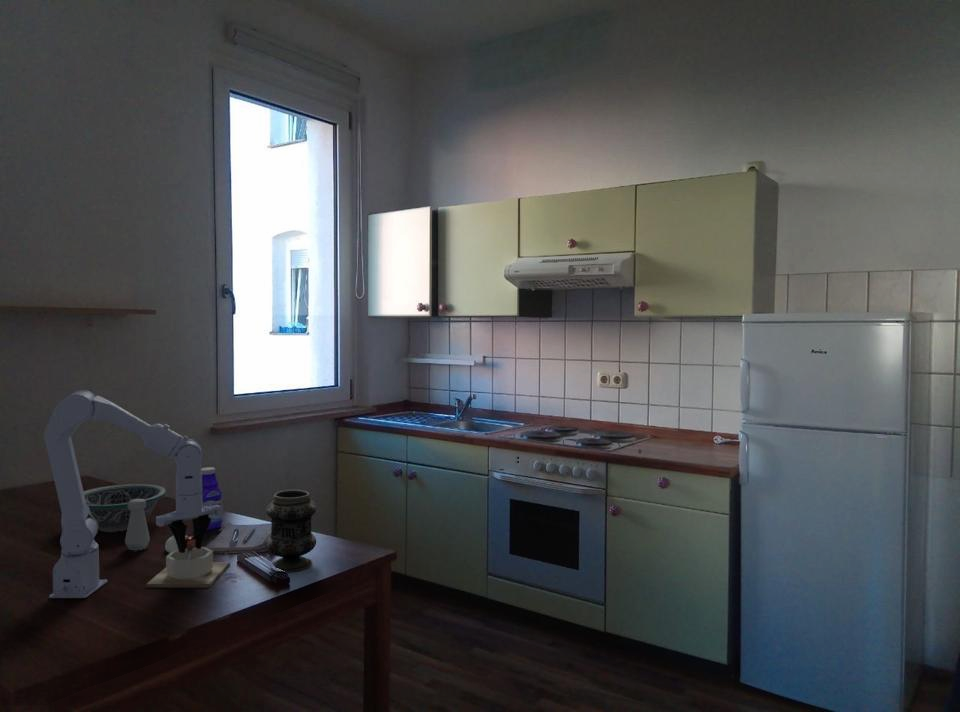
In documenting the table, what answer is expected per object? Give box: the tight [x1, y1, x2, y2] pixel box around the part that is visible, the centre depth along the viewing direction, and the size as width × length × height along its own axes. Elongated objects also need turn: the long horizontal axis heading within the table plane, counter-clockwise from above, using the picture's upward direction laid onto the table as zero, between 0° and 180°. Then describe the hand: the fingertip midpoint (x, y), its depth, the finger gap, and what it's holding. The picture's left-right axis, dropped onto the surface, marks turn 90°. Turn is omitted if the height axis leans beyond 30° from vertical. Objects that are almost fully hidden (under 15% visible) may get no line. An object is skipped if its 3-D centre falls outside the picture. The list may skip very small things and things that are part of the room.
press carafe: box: [165, 546, 214, 580], centre depth 163 cm, size 9×9×4 cm
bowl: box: [83, 483, 167, 533], centre depth 200 cm, size 25×25×10 cm
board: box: [146, 561, 231, 588], centre depth 163 cm, size 14×14×1 cm
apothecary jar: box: [265, 489, 317, 573], centre depth 170 cm, size 12×12×18 cm
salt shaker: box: [124, 499, 151, 552], centre depth 181 cm, size 6×6×13 cm
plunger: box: [185, 535, 197, 559], centre depth 163 cm, size 6×6×8 cm
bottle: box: [201, 466, 223, 531], centre depth 199 cm, size 7×6×17 cm
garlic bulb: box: [164, 534, 188, 554], centre depth 181 cm, size 6×6×8 cm
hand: (189, 549), depth 163 cm, fingers closed on plunger, 3 cm apart
